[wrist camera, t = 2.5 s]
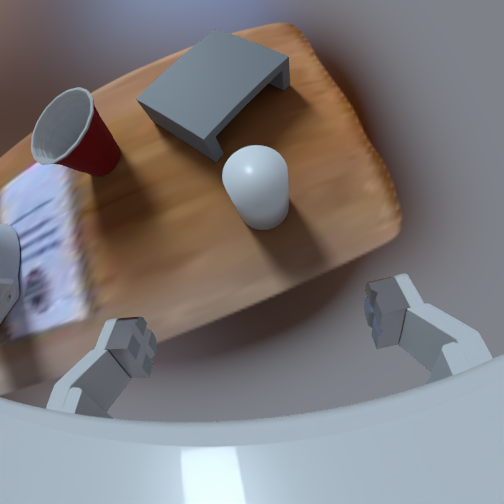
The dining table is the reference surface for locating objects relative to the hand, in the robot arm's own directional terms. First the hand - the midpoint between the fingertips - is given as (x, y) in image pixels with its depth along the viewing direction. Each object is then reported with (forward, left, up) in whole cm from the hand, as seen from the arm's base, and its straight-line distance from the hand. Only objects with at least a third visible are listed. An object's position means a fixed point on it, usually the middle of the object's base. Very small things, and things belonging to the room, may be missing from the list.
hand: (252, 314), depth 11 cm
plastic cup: (0, +33, -24) cm, 41 cm away
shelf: (+17, +24, -24) cm, 38 cm away
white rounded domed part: (+8, +9, -24) cm, 27 cm away
